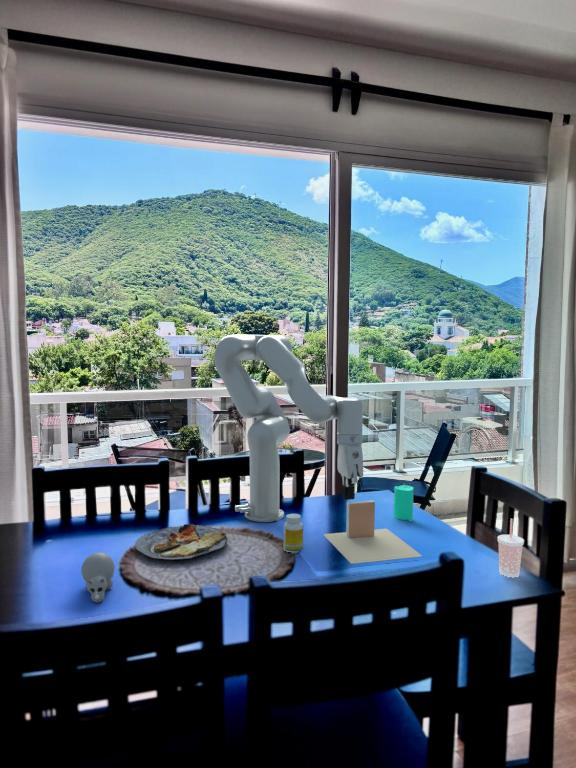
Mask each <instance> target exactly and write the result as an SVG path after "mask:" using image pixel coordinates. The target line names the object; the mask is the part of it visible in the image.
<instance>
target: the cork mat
mask: <svg viewBox="0 0 576 768" xmlns="http://www.w3.org/2000/svg"><path fill="white" fill-rule="evenodd" d="M322 534H323V533H322ZM323 536H324V537H325V538H326V539H327V540H328V541H329V542H330V543H331V545H333V546H334V548H335V549H336V550H337V551H338V552H339V553H341V555H342V556H343V557H344V558H345V559H346V560H347V561H348V562H349V564H351V565H354V564H363V563H364V564H365V563H373V562H383V561H391V560H401V559H411V558H419V557H423V555H422V554H420V553H419V552H418V551H416V549H414V548H413V547H411V546H410V545H409V544H407V543H406V542H405V541H403V540H402V539H401V538H400V537H398V536H397V535H396V534H395V533H393V532H392V531H391V530H389V529H388V528H380V529H378V528H377V529H374V536H364V537H353V538H348V537H347V536H346V531H345V532H334V533H324V534H323ZM414 561H415V562H416V561H418V560H416V559H414ZM405 562H406V563H407V562H408V560H406V561H405ZM395 563H399V562H397V561H396V562H395ZM387 564H390V563H388V562H387V563H386V565H387Z"/></svg>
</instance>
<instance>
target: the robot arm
mask: <svg viewBox="0 0 576 768" xmlns="http://www.w3.org/2000/svg"><path fill="white" fill-rule="evenodd" d="M292 347H293V346H292V344H291V342H290V340H289V339H288V338H287V337H286V336H284V335H281V334H267V335H266V334H230V335H229V334H228V335H226V336H224V337H223V338H221V339H220V341H219V342H218V343H217V344H216V347H215V349H214V353H213V361H214V366H215V369H216V371H217V373H218V375H219V378H221V380H222V382H223V384H224V386H225V388H226V390H227V392H228V394H229V396H230V398H231V400H232V402H233V404H234V407H235V408H236V410H237V412H238V413H239V415H240V416H241V417H242V418H244V419H254V418H256V421H254V422H253V423H252V424H251V425H250V427H248V428H249V429H248V430H247V435H246V436H247V437H246V438H247V446H248V453H249V500H248V501H247V503H244V504H242V505H241V504H239V505H238V504H237V505H236V504H235V505H234V510H235V512H239V513H240V514H241V513H244V517H245V518H246V519H247V520H249V521H251V522H252V521H253V522H256V523H257V522H258V523H259V522H260V523H271V522H277V521H279V520H282V519H283V518H284V517H285V512H284V510H283V509H280V476H281V475H280V473H281V471H280V454H279V450H278V445H281V444H282V443H284V442H285V441H287V439H288V438H289V436H290V432H291V431H290V430H291V429H290V424H289V421H288V419H287V417H286V416H285V413H284V412H283V409H282V407H281V406H280V403H279V402H278V400H277V399H276V396H275V395H274V393H273V392H272V391H271V390H269V389H268V388H266V387H263V386H258V387H257V386H256V385H255V383H254V380H252V377H251V376H250V374H249V372H248V370H247V369H246V368H245V367H244V365H242V363H241V361H262V362H263V363H264V364H265V365H266V366H267V367H268V369H269V370H271V372H272V373H273V374H274V375H275V377H277V378H278V379H279V380H280V382H282V383H283V385H284V387H285V390H286V392H287V393H288V395H289V398H290V399H291V400H292V402H293V404H294V405H295V406H296V407H297V408H298V409H299V410H300V412H301V413H302V414H303V415H305V417H307V418H308V420H309V421H311V422H313V423H316V424H323V423H327V422H329V421H332V420H336V421H337V422H336V427H337V428H336V444H337V446H338V447H337V471H338V473H339V474H340V476H341V479H342V480H341V481H342V499H344V500H346V501H350V500H355V496H356V495H355V494H356V493H355V492H356V491H355V490H356V484H358V483H359V482H358V481H359V480H358V478H360V479H362V478H363V477H364V456H363V448H362V445H363V421H364V420H363V419H364V417H363V415H364V414H363V412H364V411H363V410H364V408H363V406H364V405H363V403H364V402H363V400H362V399H361V398H358V397H342V396H341V397H340V396H335V395H323V396H320V394H319V393H318V392H317V391H316V390H315V389H314V387H312V385H311V384H310V382H309V381H308V378H307V376H306V375H307V371H306V370H307V369H306V365H304V363H303V362H302V361H301V360H300V359H299V358H298V357H297V356H296V355H295V354H294V353H293V352H292V351H293V348H292Z"/></svg>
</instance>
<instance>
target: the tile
mask: <svg viewBox="0 0 576 768" xmlns="http://www.w3.org/2000/svg"><path fill="white" fill-rule="evenodd" d="M375 512H376V501H375V500H373V499H372V500H371V499H370V500H369V499H367V500H356V501H355V500H354V501H347V502H346V523H345V524H346V527H345V528H346V529H345V530H346V531H345V532H346V536H347V537H348V538H353V537H364V536H374V530H375V525H376V524H375V520H376V517H375V515H376V513H375Z"/></svg>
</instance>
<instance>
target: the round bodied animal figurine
mask: <svg viewBox="0 0 576 768" xmlns="http://www.w3.org/2000/svg"><path fill="white" fill-rule="evenodd" d="M80 573H81V576H82V578H83V580H84V581H85V582H86V583H85V589H86V591H88V592H89V594H90V595H91V596H90V597H91V600H92V602H94V603H96V604H97V603H98V604H99V603H100V602H102V601H104V599H105V592H106V591H109V590H111V589H112V588H113V580H112V578H113V577H114V573H115V562H114V560H113V558H112V557H111V556H110V555H109V554H107V553H105V552H95V553H92V554H90V555H88V556H87V557H86V558H85V559H84V561H83V563H82V565H81V570H80Z"/></svg>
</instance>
